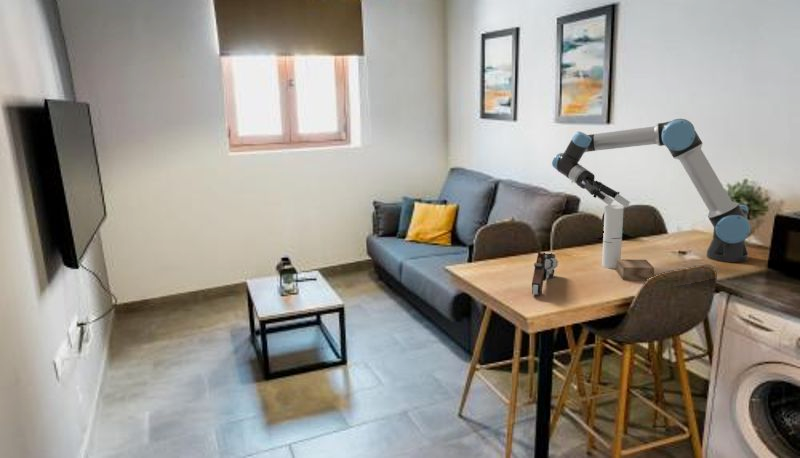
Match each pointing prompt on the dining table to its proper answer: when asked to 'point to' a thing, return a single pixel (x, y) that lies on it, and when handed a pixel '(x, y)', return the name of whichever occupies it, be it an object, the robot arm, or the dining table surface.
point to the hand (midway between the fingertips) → (620, 203)
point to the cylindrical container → (612, 235)
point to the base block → (634, 269)
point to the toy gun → (543, 271)
